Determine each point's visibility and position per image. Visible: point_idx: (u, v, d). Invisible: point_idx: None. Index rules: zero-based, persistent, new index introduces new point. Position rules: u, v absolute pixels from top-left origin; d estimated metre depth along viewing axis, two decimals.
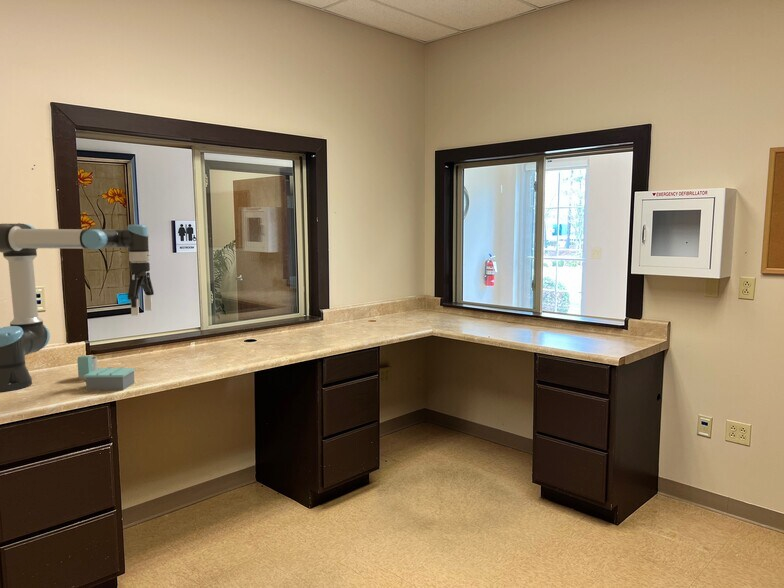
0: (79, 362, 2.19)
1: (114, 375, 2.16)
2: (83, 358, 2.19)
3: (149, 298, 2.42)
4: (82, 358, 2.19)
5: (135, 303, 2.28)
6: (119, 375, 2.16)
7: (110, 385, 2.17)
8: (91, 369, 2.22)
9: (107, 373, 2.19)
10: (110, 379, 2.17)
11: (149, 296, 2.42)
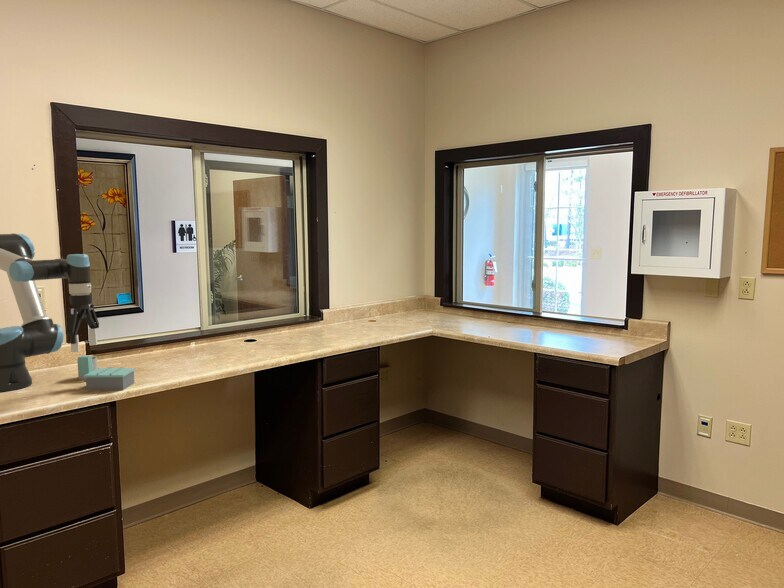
0: (79, 362, 2.19)
1: (114, 375, 2.16)
2: (83, 358, 2.19)
3: (93, 332, 2.26)
4: (82, 358, 2.19)
5: (74, 339, 2.12)
6: (119, 375, 2.16)
7: (110, 385, 2.17)
8: (91, 369, 2.22)
9: (107, 373, 2.19)
10: (110, 379, 2.17)
11: (93, 330, 2.26)
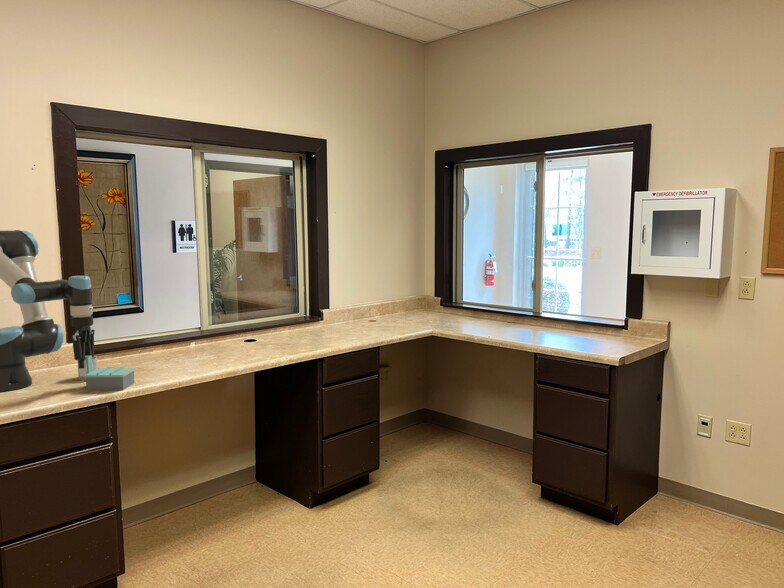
0: None
1: (114, 375, 2.16)
2: None
3: None
4: None
5: (83, 364, 2.18)
6: (119, 375, 2.16)
7: (110, 385, 2.17)
8: (91, 369, 2.22)
9: (107, 373, 2.19)
10: (110, 379, 2.17)
11: None
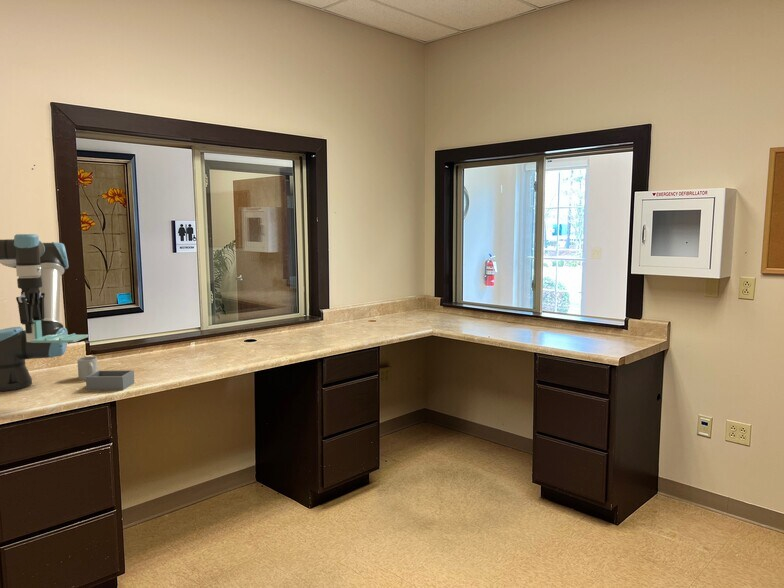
0: None
1: (63, 340, 2.01)
2: None
3: None
4: None
5: (30, 328, 2.03)
6: (69, 340, 2.01)
7: (110, 385, 2.17)
8: (40, 335, 2.07)
9: (56, 338, 2.04)
10: (110, 379, 2.17)
11: None
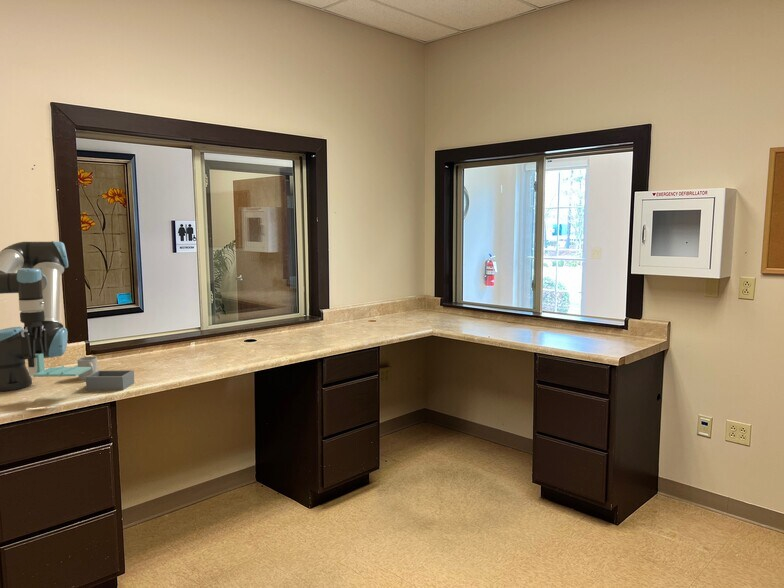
0: None
1: (66, 374, 2.02)
2: None
3: None
4: None
5: (33, 362, 2.04)
6: (71, 374, 2.02)
7: (110, 385, 2.17)
8: (42, 368, 2.08)
9: (59, 372, 2.05)
10: (110, 379, 2.17)
11: None
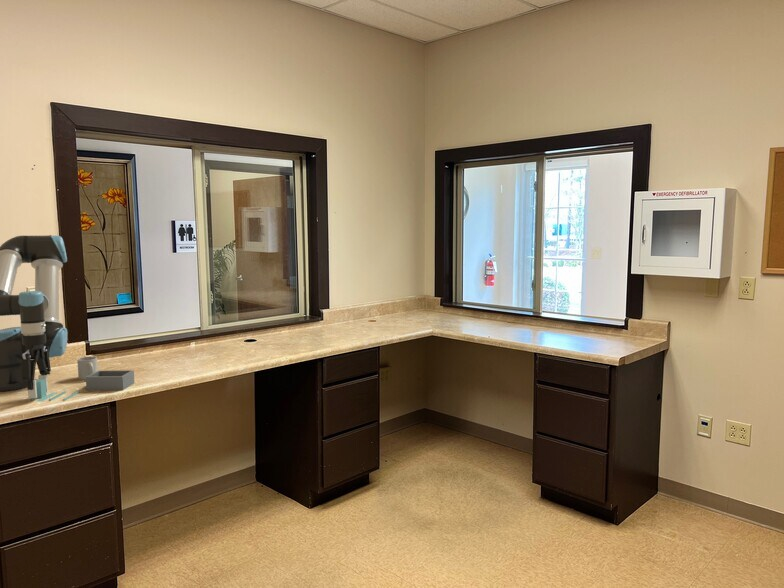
0: None
1: None
2: None
3: None
4: None
5: (32, 385, 2.04)
6: None
7: (110, 385, 2.17)
8: (44, 394, 2.09)
9: None
10: (110, 379, 2.17)
11: (44, 376, 2.11)
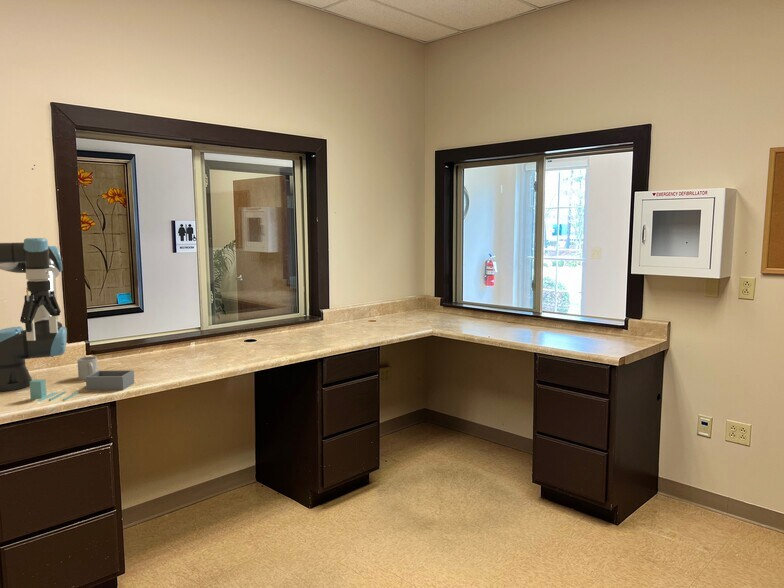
0: (31, 387, 2.07)
1: None
2: (35, 382, 2.07)
3: (54, 319, 2.17)
4: (34, 382, 2.07)
5: (30, 327, 2.03)
6: None
7: (110, 385, 2.17)
8: (44, 394, 2.09)
9: None
10: (110, 379, 2.17)
11: (54, 317, 2.16)
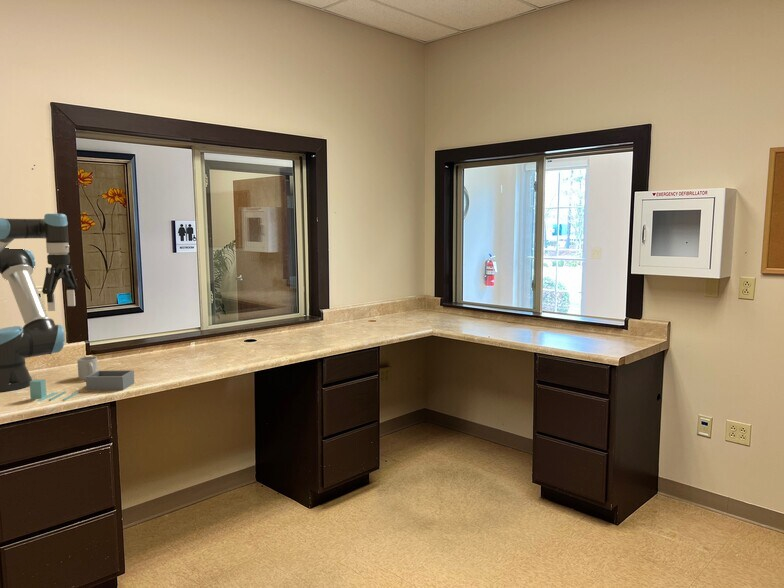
0: (31, 387, 2.07)
1: None
2: (35, 382, 2.07)
3: (72, 293, 2.26)
4: (34, 382, 2.07)
5: (51, 298, 2.12)
6: None
7: (110, 385, 2.17)
8: (44, 394, 2.09)
9: None
10: (110, 379, 2.17)
11: (72, 291, 2.26)
